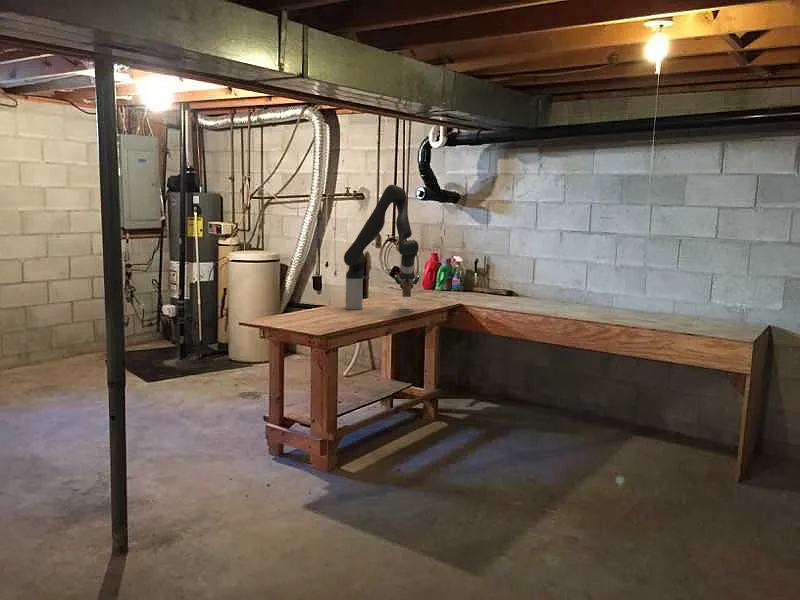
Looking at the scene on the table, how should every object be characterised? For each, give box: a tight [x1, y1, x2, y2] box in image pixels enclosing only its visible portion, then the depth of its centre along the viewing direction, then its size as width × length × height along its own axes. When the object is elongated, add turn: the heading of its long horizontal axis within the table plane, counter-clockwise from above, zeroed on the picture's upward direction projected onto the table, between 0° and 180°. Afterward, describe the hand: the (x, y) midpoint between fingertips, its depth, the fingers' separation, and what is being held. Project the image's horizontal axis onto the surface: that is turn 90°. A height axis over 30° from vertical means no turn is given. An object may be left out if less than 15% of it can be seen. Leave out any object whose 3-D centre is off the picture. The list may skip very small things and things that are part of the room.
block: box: [402, 281, 412, 298], centre depth 371 cm, size 4×4×11 cm
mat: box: [398, 307, 414, 312], centre depth 373 cm, size 8×8×1 cm
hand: (406, 287), depth 373 cm, fingers closed on block, 4 cm apart
